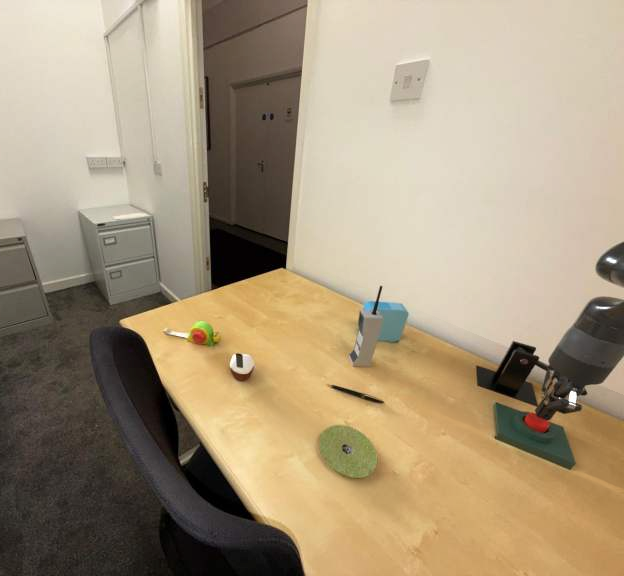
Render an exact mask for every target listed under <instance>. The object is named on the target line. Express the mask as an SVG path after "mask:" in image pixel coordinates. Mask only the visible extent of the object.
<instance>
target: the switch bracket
mask: <svg viewBox="0 0 624 576" xmlns="http://www.w3.org/2000/svg"><path fill="white" fill-rule="evenodd" d="M519 346H520V347H522V348H524V349H525V350H527V351H529V352H531V353H532V354H529V353H526V352H522V351H519V350H516V349H517V348H518V347H519ZM513 351H514V352H513ZM536 351H537V347H536V346H532V345H529V344H525V343H522V342H519V341H515V340H513V341H511V344H510V345H509V347H508V348H507V351H506V352H505V354H504V356H503V358H502V360H501V362H500V363H499V365H498V366H497V368H496V370H492V369H489V368H486V367H484V366H480V365H475V369H476V371H475V372H476V385H477V387H480V388H483V389H486V390H489V391H491V392H494V393H496V394H499V395H504V396H506V397H508V398H511V399H514V400H517V401H518V402H519V401H520V402H522V403H525V404H528V405H531V406H534V407H536V408H537V407H538V405H539V404H538V400H537V397H536V393H535V390H534V385H533V383H532V382H529V381H527V379H528V377H529V376H530V374H531V372H532V371H533V370H534V368H535V367H536V363H537V362H538V361H540V356H539V355H536V354H535V353H536ZM512 352H513V354H512Z"/></svg>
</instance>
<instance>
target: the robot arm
mask: <svg viewBox="0 0 624 576" xmlns="http://www.w3.org/2000/svg"><path fill="white" fill-rule="evenodd" d="M594 270H595V273H596V275H597V276H598V277H599V278H601V280H604V281H606V282H608V283H610V284H613V285H615V286H618V287H620V288H623V289H624V240H623V241H620V242H619V243H617V244H615V245H613V246H611V247H610V248H608V249H606V250H605V252H603V253H602V254H601V255H600V256H599V258H598V259H597V260H596V263H595V265H594ZM623 358H624V299H622V298H618V297H613V296H604V295H603V296H602V295H601V296H595V297H593V298H590V300H588V302H587V303H586V304H585V305H584V307H583V308H582V310H580V313H579V314H578V316H577V317H576V319H575V320H574V322H573V324H572V325H571V326H569V328H568V329H567V330H566V331H565V332H564V333H563V336H562V337H561V339H560V340H559V342H558V343H557V345H556V346H555V347H554V350H553V351H552V352H551V354H550V356H549V357H548V364H547V365H548V368H547V371H545V376H544V379H543V383H542V386H541V392H543V393H542V394H541V399H542V400H541V401H540V402H539V404H538V407H536V408H535V410H534V411H535V412H534V413H536V416H537V417H539V418H542V419H545V420H548V421H551V420H552V418H553V417H554V416H555V414H556V413H557V412H558V413H561V414H563V415H567V414H572V413H577V412H580V411H582V409H583V405H582V404H580V403H578V402H577V398H578V397H580V396H582V395H581V394H582V393H583V391H584V389H586V386H593V385H594V386H595V385H601V384H603V383H604V382H605V381H606V380H607V378H608V377H609V376H610V374H612V372H613V371H614V370H615V368H616V367H617V366H618V364H619V363H620V362H621V360H623Z"/></svg>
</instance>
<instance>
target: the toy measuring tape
mask: <svg viewBox="0 0 624 576" xmlns="http://www.w3.org/2000/svg"><path fill="white" fill-rule="evenodd" d="M189 331H190V332H189V333H188V332H178V331H173V330H170V327H165V328H164V329H163V331H162V333H163V334H164V335H169V336H170V335H171V336H176V337H180V338H185V339H186V341H187V342H189V343H194V344H198V345H207V346H214V344H215V343H218V342H219V341H220V340H221V335H220V334H219V332H218V331H215V333H214V328H213V326H212V325H211V324H210V323H209V322H207V321H203V320H200V321H197V322H195V324H194V325H193V326H192V327H191V328H190V330H189Z"/></svg>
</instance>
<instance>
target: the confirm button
mask: <svg viewBox="0 0 624 576" xmlns="http://www.w3.org/2000/svg"><path fill="white" fill-rule="evenodd" d="M548 421H549V420H545V419H542V418H539V417H537V416H536V412H530V413H528V414H527V416H526V417H525V419H524V422H525V423H526V425H527V426H529V427H530V428H532V429H533V430H536V431H538V432H541V433H543V432H546V430H547V429H548V428H549V426H550V423H549V422H550V421H549V422H548Z"/></svg>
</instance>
